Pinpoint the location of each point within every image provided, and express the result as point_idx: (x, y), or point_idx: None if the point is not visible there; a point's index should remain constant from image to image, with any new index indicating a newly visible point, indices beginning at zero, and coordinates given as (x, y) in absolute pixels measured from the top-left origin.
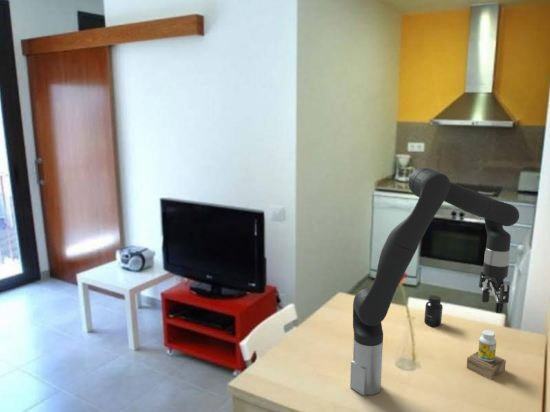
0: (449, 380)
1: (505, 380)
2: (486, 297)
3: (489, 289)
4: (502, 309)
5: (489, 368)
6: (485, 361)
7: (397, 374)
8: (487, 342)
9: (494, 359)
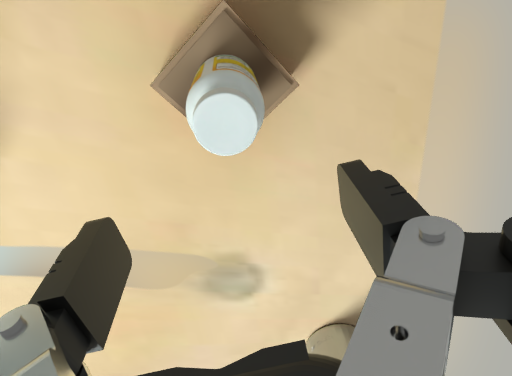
0: (302, 196)
1: (292, 21)
2: (104, 269)
3: (58, 343)
4: (398, 186)
5: (291, 91)
6: None
7: (283, 297)
8: (261, 124)
9: (240, 59)
